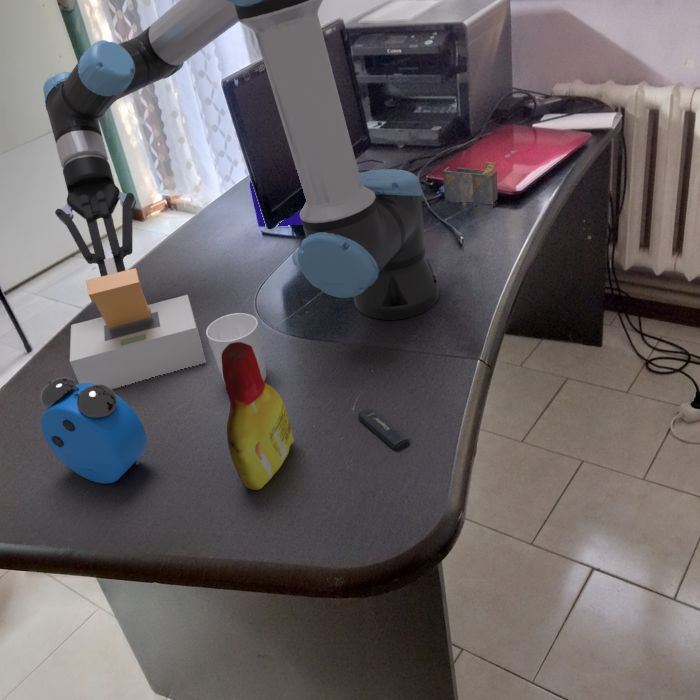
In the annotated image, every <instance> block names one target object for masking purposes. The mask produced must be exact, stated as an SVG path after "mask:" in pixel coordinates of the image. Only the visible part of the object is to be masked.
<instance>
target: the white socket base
mask: <svg viewBox="0 0 700 700" xmlns="http://www.w3.org/2000/svg"><path fill="white" fill-rule="evenodd" d="M148 306H149V309H150V310H151V313H152V316H153V319H152V320H148V321H144V322H140V323H137V324H133V325H129V326H125V327H121V328H118V329H114V330H110V331H109V330H108V328H107V325H106V323H105V321H104V319H103V317H102V316H100V317H97V318H92V319H89V320H85V321H82V322H78V323H73V324H71V325H70V342H69V344H70V345H69V346H70V347H69V364H70V366H71V368H72V370H73V372H74V374H75V377H76V379H77V382H78V384H80V383H92V384H96V385H104V386H107V387H109V388H110V389H111V390H115V389H118V388H121V386H122V387H126V386H129V385H133V384H136V383H139V382H138V381H140V382H143V381H142V380H144V379H147V380H150V379H149V378H151V377H154V378H156V377H155V376H158V375H161V376H164V375H163V374H165V373H169V374H171V373H170V372H172V373H174V372H173V371H176V372H178V371H177V370H179V371H181V370H180V369H183V370H185V369H184V368H187V369H189V368H188V367H190V368H193V367H192V366H194V367H197V366H200V365H199V364H201V365H203V364H202V363H205V364H207V360H206V356H205V353H204V348H202V347H203V344H202V341H201V336H200V332H199V329H198V324H197V322H196V319H195V316H194V315H195V314H194V312H193V308H192V305H191V302H190V297H189V294H184V295H181V296H177V297H174V298H170V299H165V300H161V301H159V302H154V303H151V304H148ZM196 365H197V366H196ZM165 375H166V374H165ZM158 377H159V376H158ZM151 379H152V378H151ZM144 381H145V380H144ZM135 382H136V383H135ZM132 383H133V384H132ZM125 385H126V386H125Z"/></svg>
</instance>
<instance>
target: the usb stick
mask: <svg viewBox="0 0 700 700" xmlns="http://www.w3.org/2000/svg"><path fill="white" fill-rule="evenodd" d="M357 418H358V421H360V422H361V423H362V424H363V425H364V426H365V427H366V428H367V429H368V430H370V431H371V432H372V433H373V434H374V435H376V436H377V437H378V438H379V439H380V440H382V441H383V442H384V443H385V444H386V445H387V446H388V447H390V448H391V449H392V450H394V451H395V452H399V451H400V450H403V449H404V448H406V447H408V446H409V444H410V440H409V438H407V437H406V436H405V435H403V433H401V432H400V431H399V430H398V429H396V427H394V426H393V425H391V424H390V422H388V421H387V420H385V419H384V418H383V417H382V416H380V415H379V414H378V413H377V412H375V410H373V409H371V408H367V409H364V410H362V411H360V412H359V413H358V415H357Z"/></svg>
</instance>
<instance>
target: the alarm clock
mask: <svg viewBox="0 0 700 700" xmlns="http://www.w3.org/2000/svg"><path fill="white" fill-rule="evenodd" d="M39 398H40V402H41V404H42V406H43V407H44V408H46V409H45V410H44V411H43V413H42V415H41V419H40V427H41V431H42V435H43V437H44V439H45V441H46V443H47V445H48V446H49V448H50V449H51V450H52V452H53V453H54V454H55V455H56V457H57V458H59V460H60V461H61V462H63V464H64V465H66V466H67V467H68V468H69V469H71V470H72V471H73V472H75V473H76V474H77V475H79V476H81V477H82V478H85V479H86V480H88V481H91V482H95V483H98V484H112V483H115V482H117V481H118V480H120V479H121V477H122V476H123V475H124V474H126V472H127V471H128V470H129V469H131V467H132V466H133V464H135V466H137V465H138V464H139V465H140V463H139V461H138V460H139V458H140V457H142V455H143V454H144V453H145V451H146V449H147V444H148V438H147V433H146V430H145V427H144V424H143V423H142V421H141V419H140V418H139V416H138V415H137V413H136V412H135V410H134V409H133V408H132V407H131V406H130V404H129V403H127V402H126V401H125V400H124V399H123V398H121V397H120V396H119V395H117V394H116V393H115V391H114V389H110V388H109V387H107V386H104V385H96V384H92V383H80V384H79V383H76V382H75V381H74V380H73V379H71V378H69V377H57V378H54V379H53V380H49V379H48V380H47V384H46V385H45V386H44V387H43V388H42V390H41V393H40V397H39ZM139 465H138V466H139Z"/></svg>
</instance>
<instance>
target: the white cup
mask: <svg viewBox="0 0 700 700" xmlns="http://www.w3.org/2000/svg"><path fill="white" fill-rule="evenodd" d="M258 321H259V320H258V319H257V318H256V317H255V316H254V315H252V314H250V313H243V312H235V313H230V314H227V315H223V316H221V317H219V318H216V319H215V320H213V321H212V322H211V323H210V324H209V325H208V326H207V328H206V330H205V333H206V334H205V335H206V337H207V340H208V342H209V346H210V349H211V352H212V355H213V357H214V360H215V363H216V367H217V368H218V371H219V372H220V374H221V377H222V380H223V383H224V386H225V387H226V385H225V382H224V378H223V371H222V352H223V350H224V349H225V348H226V347H227V346H228V345H229V344H231V343H235V342H242V343H245V344H248V345H250V346H252V349H253V352H254V354H255V357H256V359H257V362H258V367H259V369H260V373H261V377H262V379H263V381H264V382H265V381H266V378H267V372H266V371H267V370H266V366H265V357H264V356H265V355H264V349H263V344H262V339H261V332H260V327H259V323H258Z"/></svg>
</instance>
